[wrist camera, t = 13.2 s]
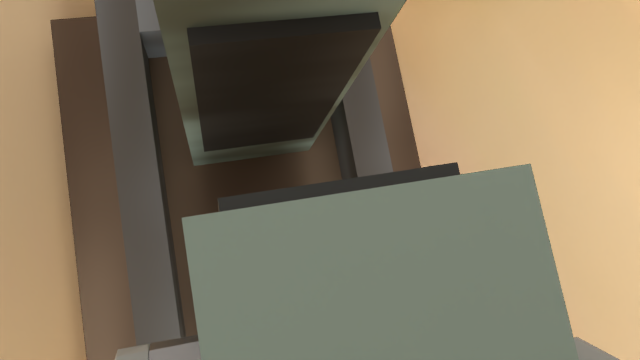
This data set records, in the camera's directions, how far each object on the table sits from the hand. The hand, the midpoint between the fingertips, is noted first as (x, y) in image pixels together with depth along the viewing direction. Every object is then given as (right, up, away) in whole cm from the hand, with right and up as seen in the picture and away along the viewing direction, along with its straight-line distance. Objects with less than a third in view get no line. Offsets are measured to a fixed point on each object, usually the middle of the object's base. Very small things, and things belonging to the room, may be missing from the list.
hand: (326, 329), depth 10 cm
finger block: (-1, -1, +7) cm, 7 cm away
